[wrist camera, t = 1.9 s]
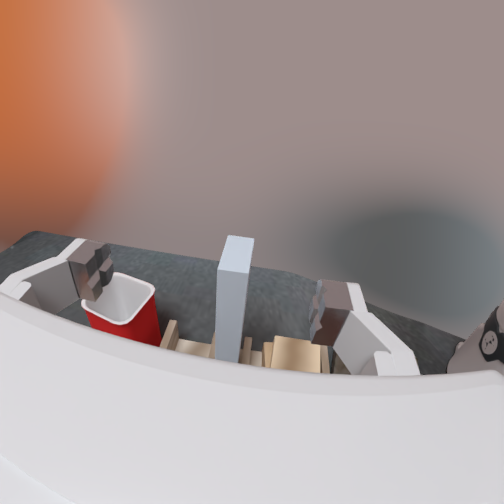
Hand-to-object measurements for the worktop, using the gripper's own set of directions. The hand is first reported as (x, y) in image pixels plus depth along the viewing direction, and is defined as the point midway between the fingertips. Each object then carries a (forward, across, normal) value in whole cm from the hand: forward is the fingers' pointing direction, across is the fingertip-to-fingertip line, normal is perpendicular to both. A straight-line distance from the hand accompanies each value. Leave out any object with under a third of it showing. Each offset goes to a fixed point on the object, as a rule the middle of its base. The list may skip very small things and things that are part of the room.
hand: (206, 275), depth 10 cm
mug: (+16, +17, +29) cm, 37 cm away
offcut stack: (+13, -8, +27) cm, 31 cm away
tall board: (+13, 0, +27) cm, 30 cm away
